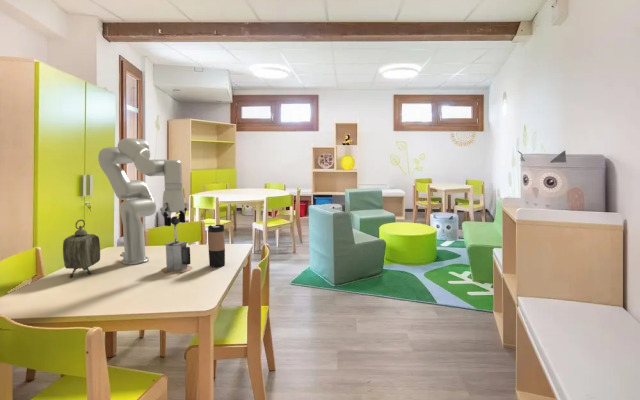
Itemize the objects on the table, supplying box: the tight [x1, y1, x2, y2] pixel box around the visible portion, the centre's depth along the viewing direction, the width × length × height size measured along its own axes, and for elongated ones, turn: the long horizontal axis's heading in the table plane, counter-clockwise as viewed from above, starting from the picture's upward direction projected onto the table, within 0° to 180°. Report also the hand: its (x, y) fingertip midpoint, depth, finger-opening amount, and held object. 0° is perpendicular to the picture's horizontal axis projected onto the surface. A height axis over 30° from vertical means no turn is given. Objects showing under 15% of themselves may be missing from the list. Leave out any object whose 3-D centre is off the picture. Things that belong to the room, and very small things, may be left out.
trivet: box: [160, 265, 193, 275], centre depth 193 cm, size 14×14×1 cm
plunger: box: [171, 215, 180, 244], centre depth 191 cm, size 6×6×15 cm
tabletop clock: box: [62, 219, 101, 278], centre depth 186 cm, size 14×9×25 cm, turn 1°
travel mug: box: [207, 224, 226, 268], centre depth 198 cm, size 8×8×20 cm
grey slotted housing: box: [164, 240, 192, 272], centre depth 192 cm, size 12×9×13 cm
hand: (175, 224), depth 191 cm, fingers open, 9 cm apart
